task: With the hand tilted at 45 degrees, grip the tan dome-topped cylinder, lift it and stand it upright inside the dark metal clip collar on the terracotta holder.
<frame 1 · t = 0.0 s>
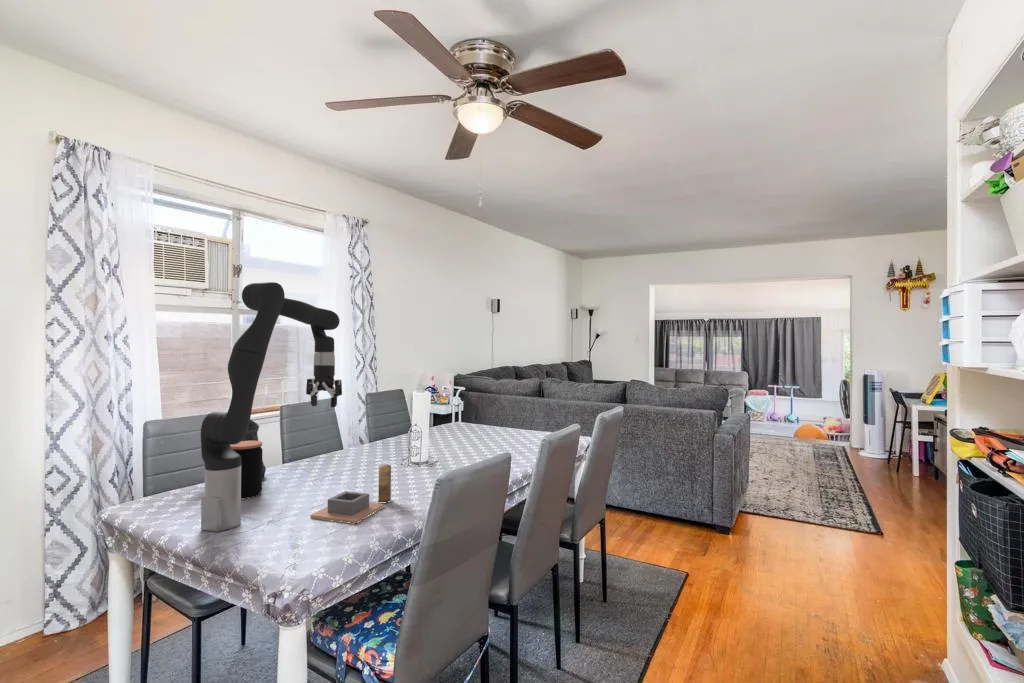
hand: (323, 406, 187), 29 cm above the table, tool pointing down, fingers open, 8 cm apart
coffee jar: (244, 495, 172), on the table
beer stein: (238, 481, 189), on the table
tan dome-topped cylinder: (384, 501, 167), on the table
holder: (348, 512, 156), on the table
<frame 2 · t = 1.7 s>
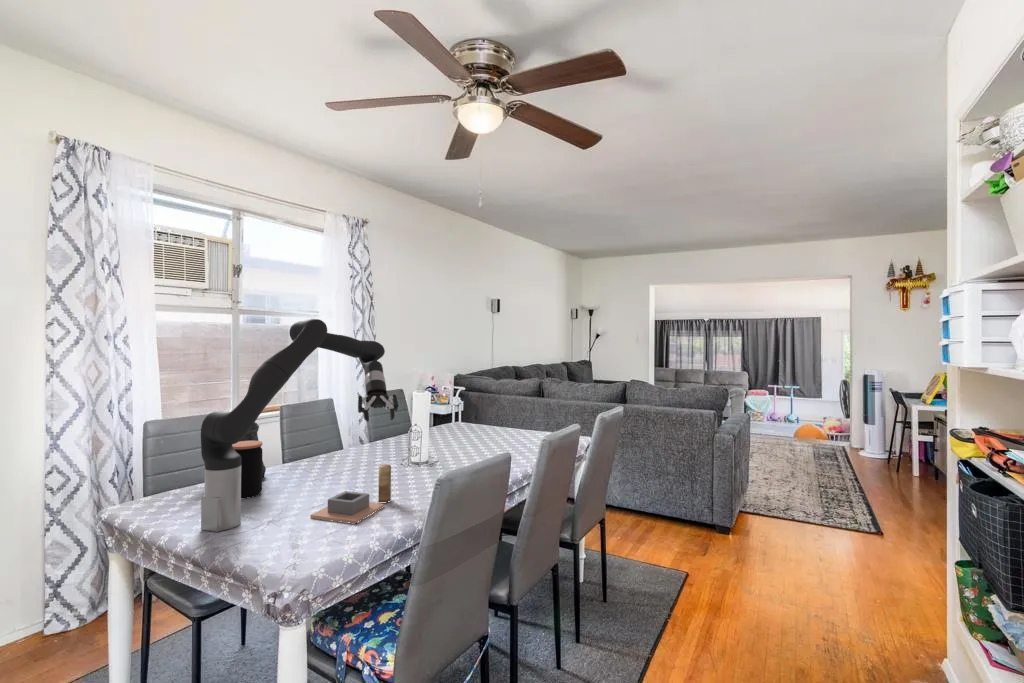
hand: (379, 419, 178), 26 cm above the table, tool tilted 45°, fingers open, 8 cm apart
nothing on the table moved.
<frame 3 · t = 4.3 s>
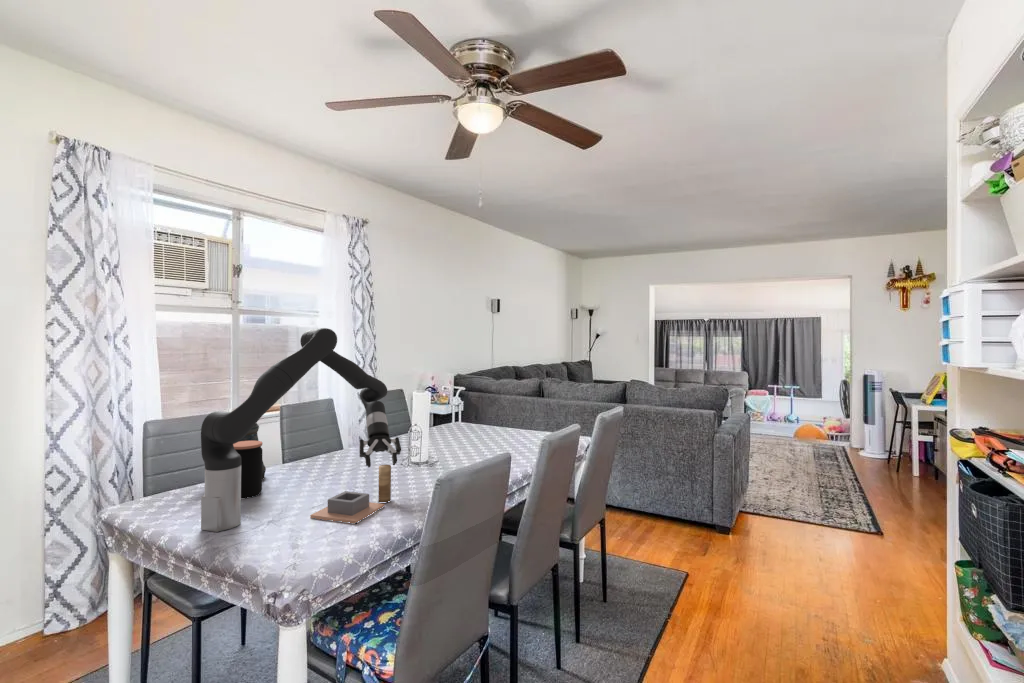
hand: (382, 465, 172), 11 cm above the table, tool tilted 45°, fingers open, 8 cm apart
nothing on the table moved.
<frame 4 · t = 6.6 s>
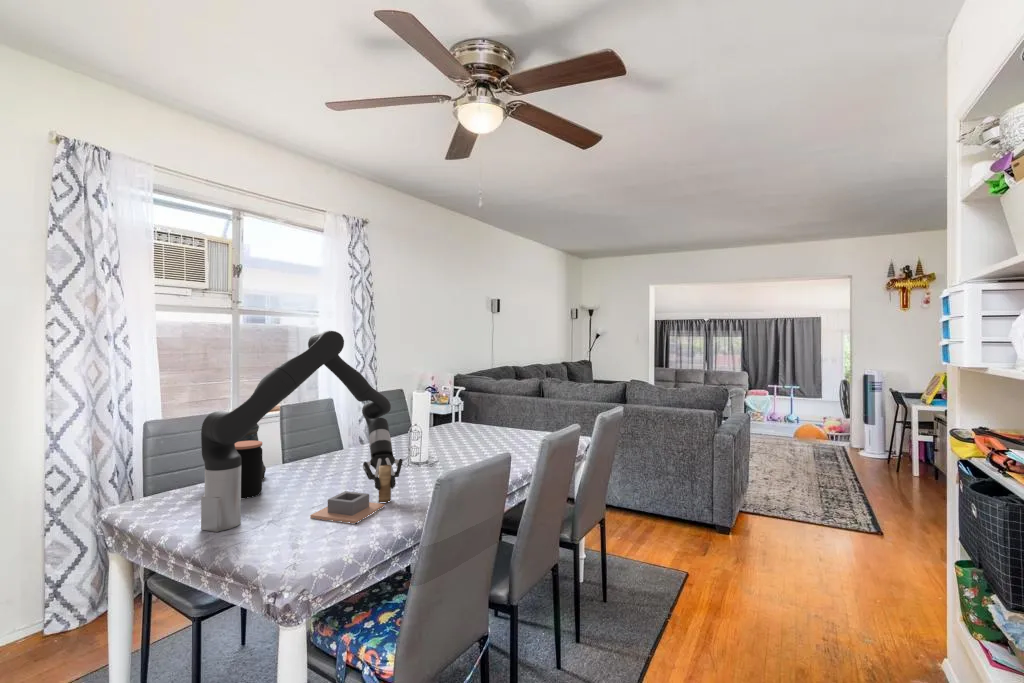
hand: (385, 488, 165), 5 cm above the table, tool tilted 45°, fingers closed on tan dome-topped cylinder, 4 cm apart
tan dome-topped cylinder: (384, 501, 167), on the table, touching gripper
everything else where it was.
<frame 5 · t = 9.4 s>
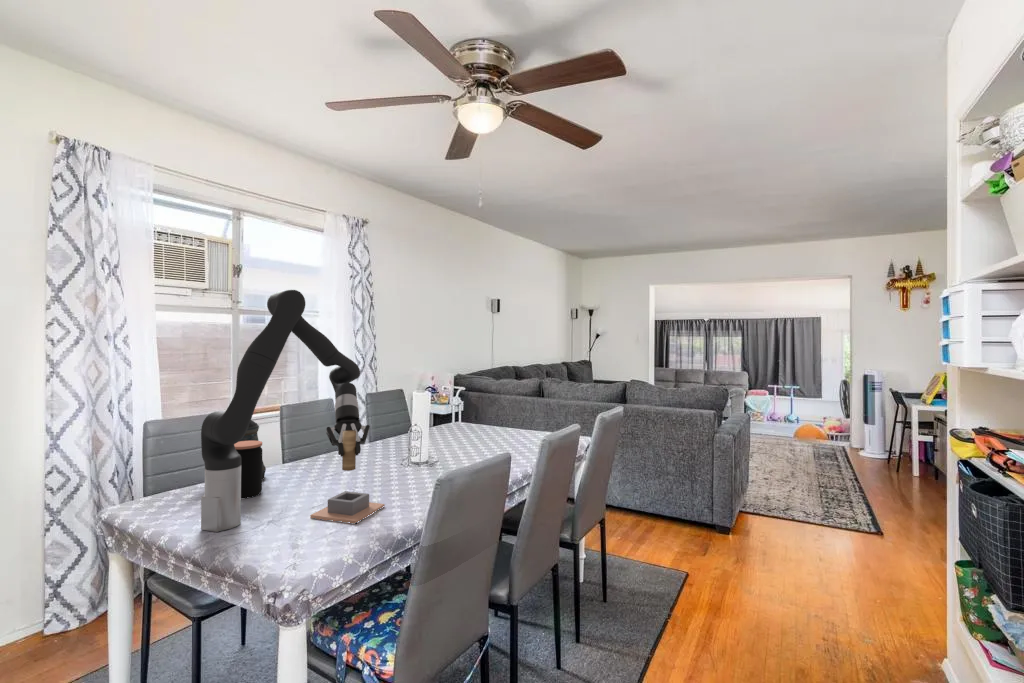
hand: (349, 454, 154), 19 cm above the table, tool tilted 45°, fingers closed on tan dome-topped cylinder, 4 cm apart
tan dome-topped cylinder: (348, 469, 156), point 14 cm above the table, touching gripper
everything else where it was.
when the fingers open (7 cm above the table, at t = 12.5 s): tan dome-topped cylinder drops 1 cm, resting on holder.
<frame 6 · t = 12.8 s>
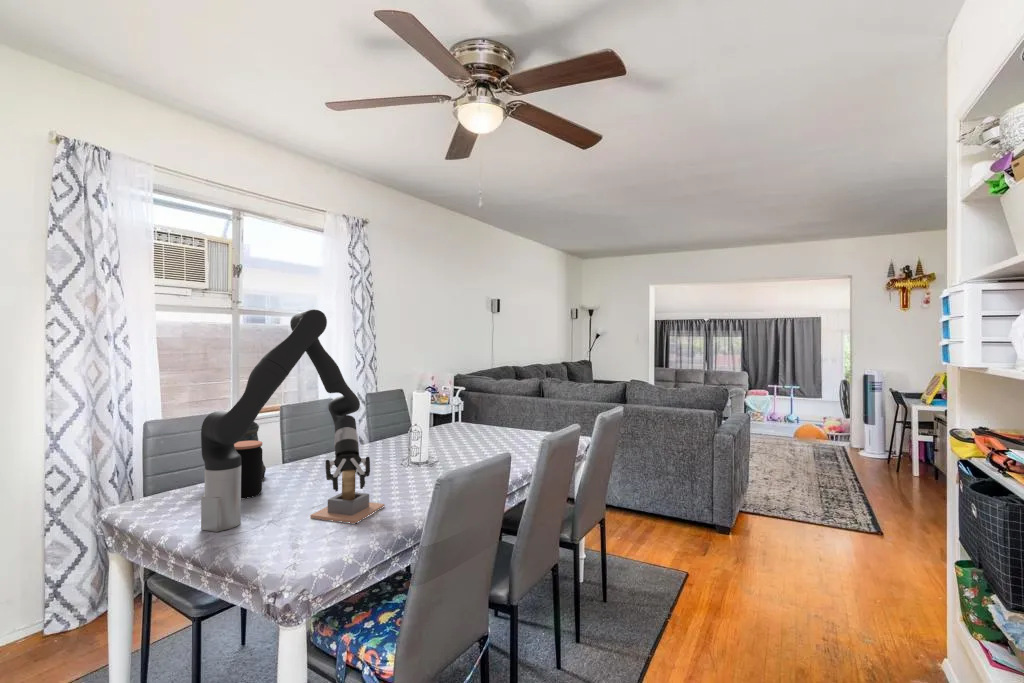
hand: (349, 488, 154), 8 cm above the table, tool tilted 45°, fingers open, 7 cm apart
tan dome-topped cylinder: (348, 509, 156), point 1 cm above the table, touching holder
everything else where it was.
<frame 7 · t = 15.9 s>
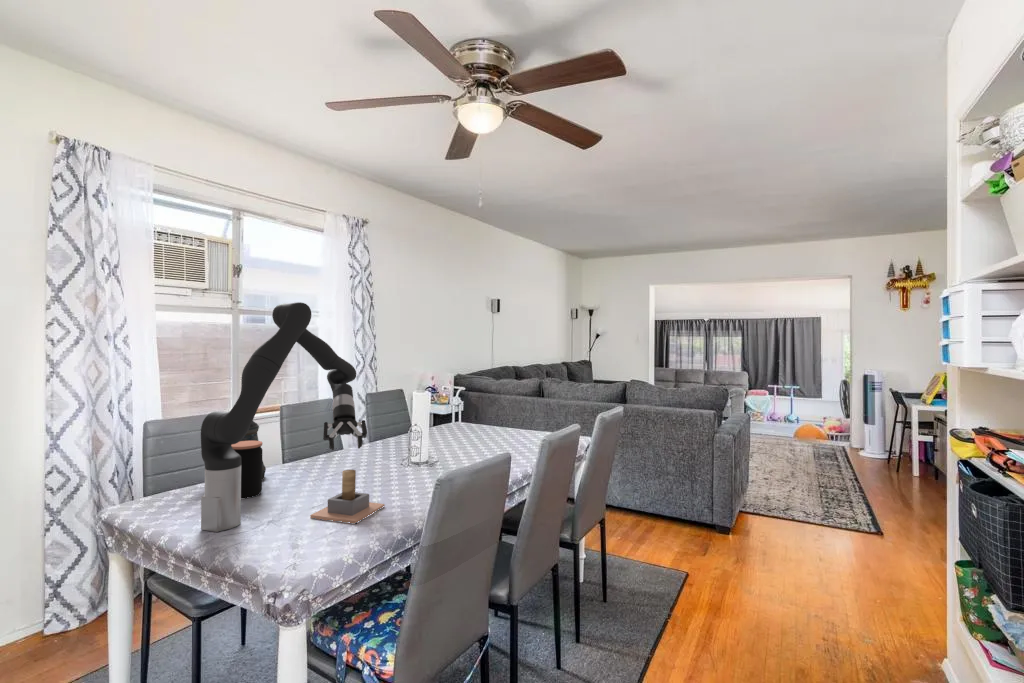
hand: (346, 448, 166), 18 cm above the table, tool tilted 45°, fingers open, 8 cm apart
nothing on the table moved.
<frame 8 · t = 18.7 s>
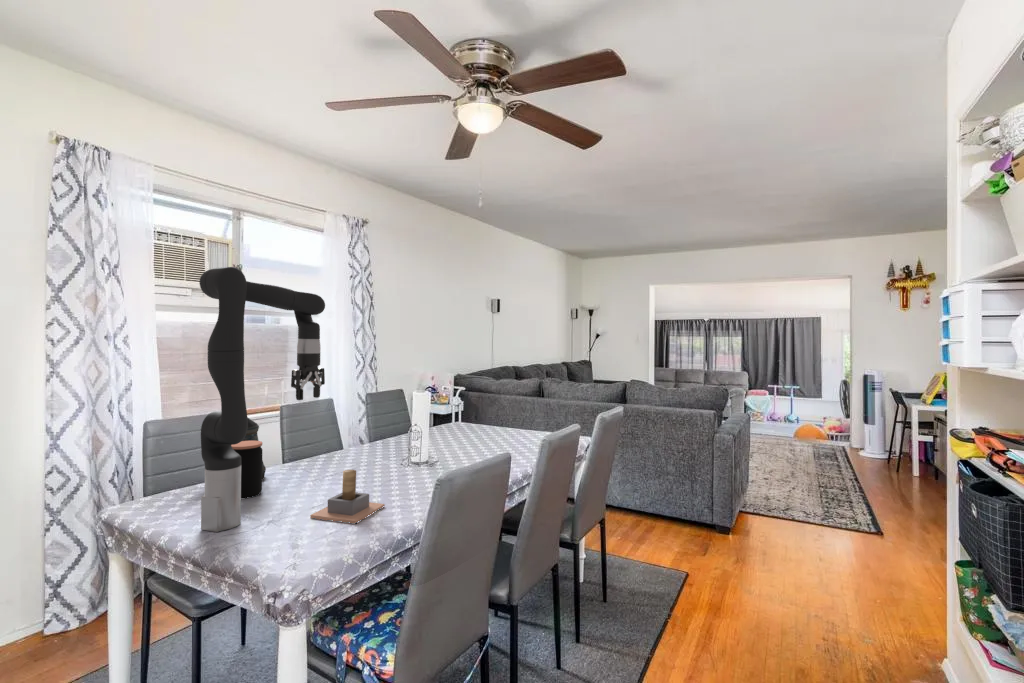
hand: (308, 398, 171), 34 cm above the table, tool pointing down, fingers open, 8 cm apart
nothing on the table moved.
at the end: tan dome-topped cylinder 0.1 cm off-centre on the holder, point 1.0 cm above the holder's base; tan dome-topped cylinder tilted 1°; the gripper is holding nothing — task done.
